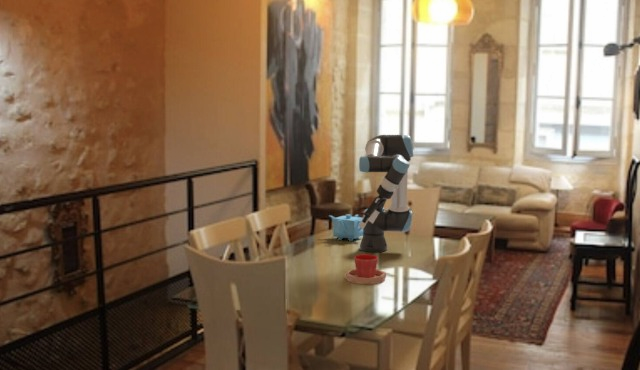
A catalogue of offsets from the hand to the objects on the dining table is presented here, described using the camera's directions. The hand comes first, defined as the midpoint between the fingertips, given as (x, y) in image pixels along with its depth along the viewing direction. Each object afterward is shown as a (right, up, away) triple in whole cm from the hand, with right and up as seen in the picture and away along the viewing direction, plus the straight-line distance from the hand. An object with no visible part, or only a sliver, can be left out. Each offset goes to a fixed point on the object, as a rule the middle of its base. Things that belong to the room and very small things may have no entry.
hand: (365, 224), depth 325 cm
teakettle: (-6, -13, +81) cm, 83 cm away
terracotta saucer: (-1, -25, -8) cm, 26 cm away
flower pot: (0, -24, -8) cm, 26 cm away
